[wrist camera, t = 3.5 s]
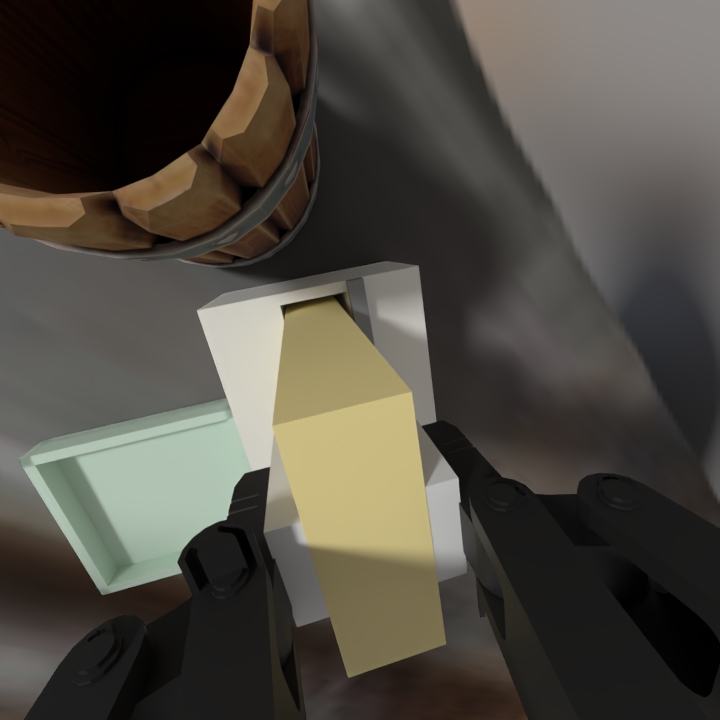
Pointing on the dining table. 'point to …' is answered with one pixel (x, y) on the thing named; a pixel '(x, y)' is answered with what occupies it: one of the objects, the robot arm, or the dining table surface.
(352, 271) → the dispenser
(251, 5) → the mug
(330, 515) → the pale yellow rectangular block
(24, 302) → the dining table surface
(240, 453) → the tray
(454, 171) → the dining table surface
